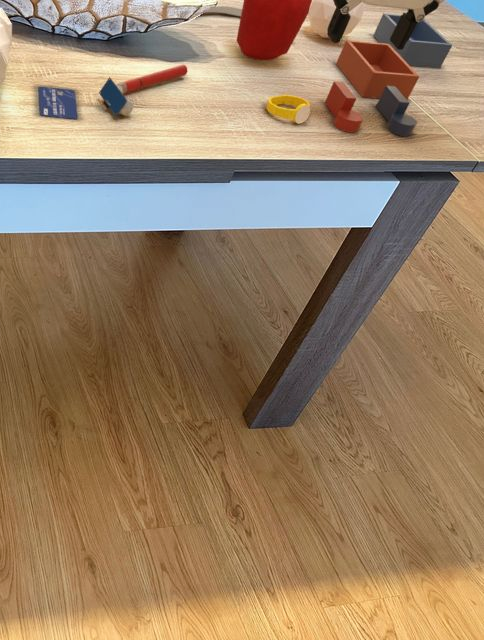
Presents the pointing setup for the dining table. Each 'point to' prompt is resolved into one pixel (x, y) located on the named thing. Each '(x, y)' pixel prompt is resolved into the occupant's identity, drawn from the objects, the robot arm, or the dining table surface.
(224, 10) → the machete
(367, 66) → the red bin
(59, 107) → the credit card
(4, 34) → the bowl
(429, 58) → the blue bin
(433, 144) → the dining table surface
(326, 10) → the decorative ball
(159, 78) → the flare
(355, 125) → the red disc on stick
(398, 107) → the blue spoon
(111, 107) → the ultrasonic sensor
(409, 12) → the robot arm
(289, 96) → the watch
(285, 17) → the red rounded piece
